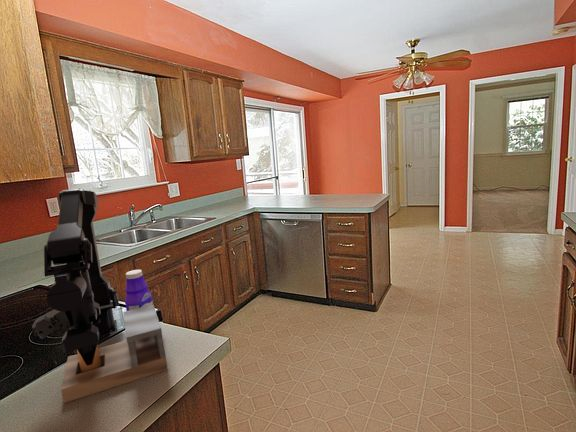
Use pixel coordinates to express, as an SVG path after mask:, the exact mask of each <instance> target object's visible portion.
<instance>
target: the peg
mask: <svg viewBox="0 0 576 432" xmlns="http://www.w3.org/2000/svg"><path fill="white" fill-rule="evenodd" d="M98 348H99V345H98V343H97V347H96V351H95V355H94V359H93V363H92V364H91V365H88V366H87V365H86V364H85V362H84V360H83V358H82V357H81V355H80V353H79V352H78V350H76V353H77V354H78V358H79V363H80V368H81V371H82V372H87V371H90V370H94V369H97V368H98V367H99V366H100V365H101V360H100V355H99V349H98Z"/></svg>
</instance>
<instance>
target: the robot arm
mask: <svg viewBox="0 0 576 432" xmlns="http://www.w3.org/2000/svg"><path fill="white" fill-rule="evenodd" d="M57 204H58V209H59V213H58V218H57V219H58V220H57V221H58V222H57V228H55V229H54V230H53V231H51V232H50V233H49V235H48V237H47V241H46V244H44V246H43V251H44V252H43V253H44V254H43V256H44V257H43V259H44V260H43V262H44V263H43V264H44V265H43V266H44V269H43V270H44V272H43V273H44V277H50V276H53V277H54V282H53V284H52V285H51V286H50V288H49V289H48V291H47V294H46V302H47V305H48V306H49V307H50V308H52V309H51V310H50V311H48V312H46V313H45V314H43V315H40V316H39V317H38V318H36V319H35V320H34V322H33V324H32V327H31V328H32V330H33V335H34V336H35V337H36V336H38V337H39V338H40V340H41V339H42V340H44V339H45V338H47V337H48V336H49V335H50V334H52V333H54V332H55V331H57V330H59V329H60V328H63V330H67V329H69V330H67V331H65V333H64V334H63V336H62V338H61V343H60V344H61V349H62V352H63V353H70V352H72V351H77V350H78V352H79V353H80V355H81V357H82V358H83V360H84V362H85V364H86V365H87V366H88V365H91V364H92V363H93V359H94V355H95V351H96V347H97V344H98V343H100V335H102V334H105V333H110V332H113V331H117V329H118V326H117V323H118V322H117V319H115V318H114V312H113V309H117V307H118V306H120V303H119V298H118V294H117V291H115V290H114V288H113V287H111V283H110V280H109V279H108V278H107V277H106V276H105V275H104V274H103V273H102V268H101V267H102V266H101V263H100V255H99V252H98V245H97V241H96V235H95V230H94V228H95V227H94V220H95V218H96V216H97V213H98V210H97V209H98V207H99V200H98V196H97V194H96V192H95V191H91V190H90V189H89V190H84V189H81V188H70V189H63V190H61V191H59V193H58V195H57ZM52 265H53V266H52Z"/></svg>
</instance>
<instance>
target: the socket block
mask: <svg viewBox="0 0 576 432" xmlns="http://www.w3.org/2000/svg"><path fill="white" fill-rule="evenodd" d="M123 320H124V321H123V322H124V330H125V338H126V339H125V340H123V341H119V342H116V343H113V344H109V345H105V346H102V347H98V349H99V355H100V360H101V365H100V366H99V367H98V368H97V369H94V370H90V371H87V372H82V371H81V368H80V363H79V358H78V354H74V355H68V356H67V359H66V364H65V365H66V366H65V369H64V373H63V378H62V384H61V388H60V391H61V396H62V400H63V404H66V403H69V402H72V401H75V400H78V399H81V398H85V397H88V396H90V395H93V394H97V393H100V392H102V391H105V390H109V389H112V388H115V387H118V386H121V385H124V384H128V383H130V382H133V381H136V380H140V379H143V378H146V377H149V376H152V375H154V374H158V373H160V372H164V371H168V370H169V369H168V363H167V358H166V350H165V344H164V338H163V331H162V327H161V323H160V320H159V317H158V315H157V312H156V308H155V305H154V304H153V305H150V306H146V307H142V308H138V309H134V310H130V311H127V310H126V311H123Z"/></svg>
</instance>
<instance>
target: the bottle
mask: <svg viewBox="0 0 576 432" xmlns="http://www.w3.org/2000/svg"><path fill="white" fill-rule="evenodd" d="M125 278H126V279H125V280H126V285H125V289H124V290H125V292H126V296H125V299H124V304H125V309H126V311H130V310H134V309H138V308H142V307H146V306H150V305H154V302H153V297H152V293H151V290H150V289H149V288H148V286H149V285H148V283H147V282H146V281H145V279H144V275H143V271H142V269H133V270H130V271H127V272H126V273H125Z"/></svg>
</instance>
